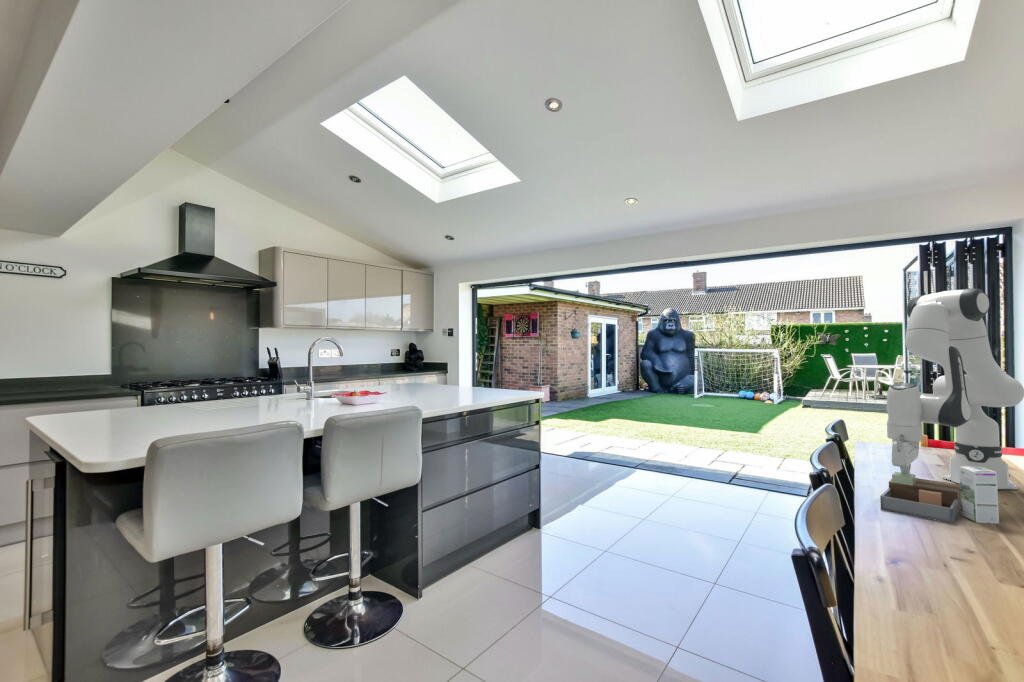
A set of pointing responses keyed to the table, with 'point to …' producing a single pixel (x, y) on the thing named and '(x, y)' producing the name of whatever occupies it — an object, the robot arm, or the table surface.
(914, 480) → the sage-green tile
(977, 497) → the syrup box
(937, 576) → the table surface
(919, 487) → the brown rectangular block
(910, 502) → the box
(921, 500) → the terracotta tile
